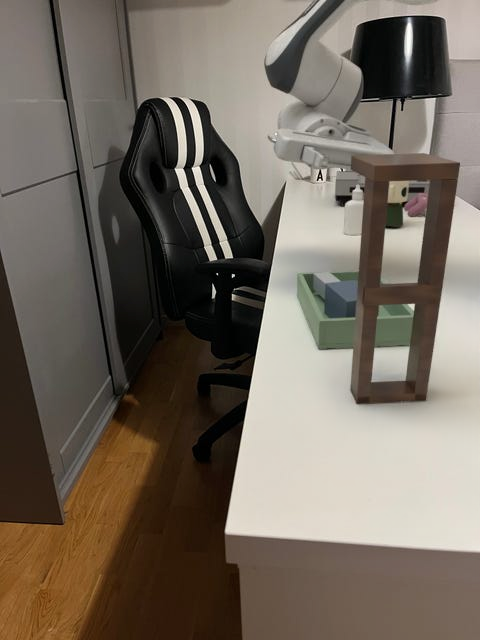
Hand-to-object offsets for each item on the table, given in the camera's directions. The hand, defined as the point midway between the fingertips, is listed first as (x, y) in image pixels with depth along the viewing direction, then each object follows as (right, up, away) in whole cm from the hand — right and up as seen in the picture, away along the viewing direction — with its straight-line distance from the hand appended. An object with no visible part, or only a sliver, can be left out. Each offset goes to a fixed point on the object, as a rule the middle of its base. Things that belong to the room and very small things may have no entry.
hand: (351, 166), depth 77 cm
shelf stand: (0, -31, -16) cm, 35 cm away
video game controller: (+34, +7, +69) cm, 77 cm away
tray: (0, -23, +2) cm, 23 cm away
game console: (+30, +15, +87) cm, 93 cm away
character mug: (+23, +1, +56) cm, 60 cm away
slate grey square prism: (-1, -22, +2) cm, 22 cm away
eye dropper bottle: (+12, -2, +50) cm, 51 cm away
